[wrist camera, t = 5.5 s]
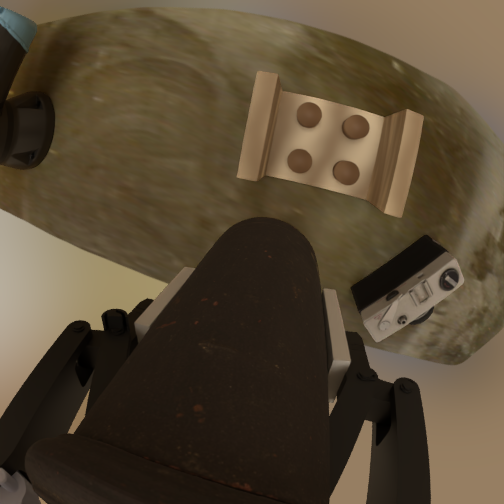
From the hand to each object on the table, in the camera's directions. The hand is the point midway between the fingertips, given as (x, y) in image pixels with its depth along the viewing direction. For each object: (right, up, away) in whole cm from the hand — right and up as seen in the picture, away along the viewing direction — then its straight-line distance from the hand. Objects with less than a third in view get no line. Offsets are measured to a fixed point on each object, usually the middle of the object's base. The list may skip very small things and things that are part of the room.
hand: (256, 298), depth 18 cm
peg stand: (+9, +16, +15) cm, 24 cm away
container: (+1, +1, +4) cm, 4 cm away
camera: (+21, -1, +20) cm, 29 cm away
